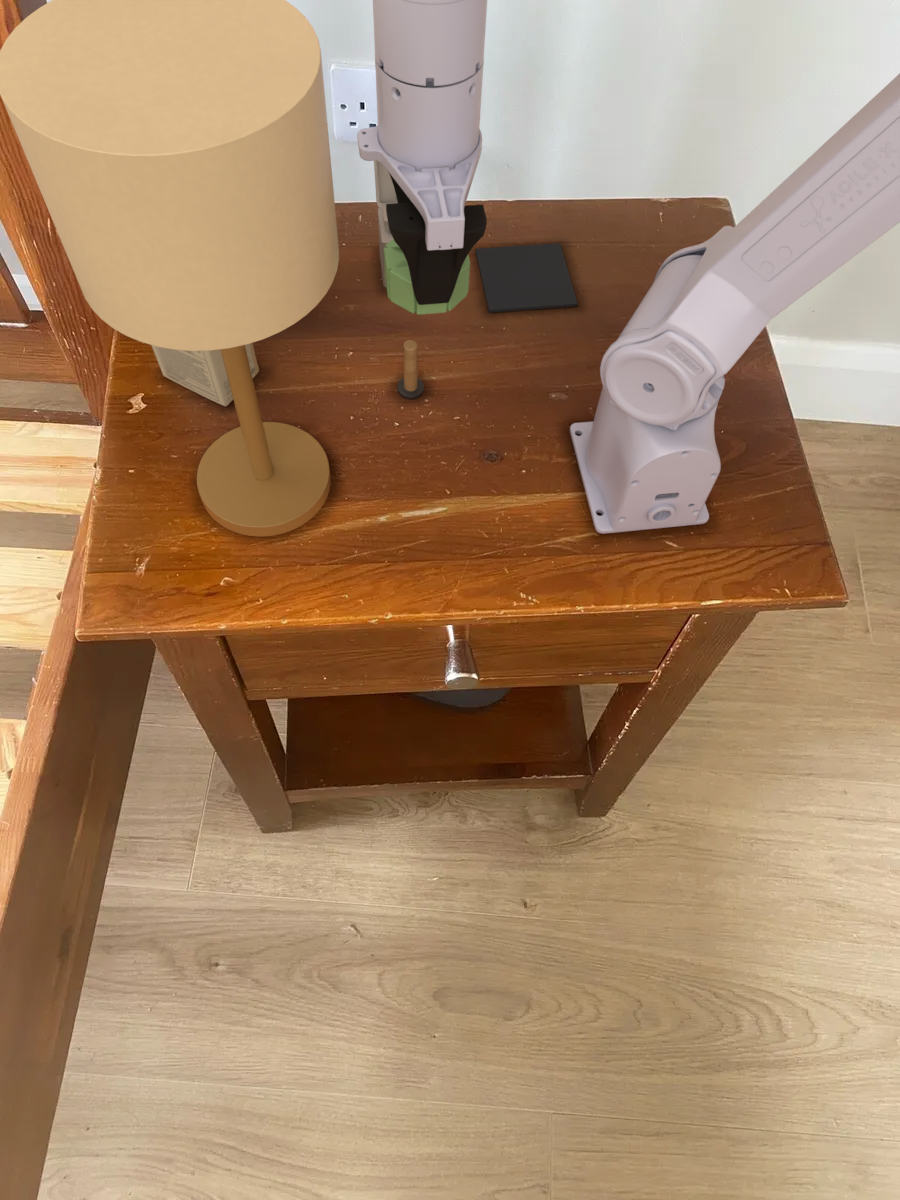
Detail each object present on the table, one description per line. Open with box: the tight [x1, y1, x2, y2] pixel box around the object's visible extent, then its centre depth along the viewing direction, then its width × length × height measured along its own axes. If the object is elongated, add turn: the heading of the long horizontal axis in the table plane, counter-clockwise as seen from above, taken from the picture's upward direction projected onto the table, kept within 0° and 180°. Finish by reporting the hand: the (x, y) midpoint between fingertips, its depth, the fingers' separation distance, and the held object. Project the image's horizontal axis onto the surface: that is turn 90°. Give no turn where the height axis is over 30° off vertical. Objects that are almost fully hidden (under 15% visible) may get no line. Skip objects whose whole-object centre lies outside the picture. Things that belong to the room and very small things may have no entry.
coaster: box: [474, 242, 578, 314], centre depth 72 cm, size 7×7×1 cm
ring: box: [384, 239, 471, 316], centre depth 58 cm, size 5×5×2 cm
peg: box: [396, 339, 425, 400], centre depth 64 cm, size 2×2×4 cm
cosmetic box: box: [151, 342, 260, 407], centre depth 61 cm, size 6×4×12 cm
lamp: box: [0, 0, 340, 538], centre depth 49 cm, size 13×13×29 cm
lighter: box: [373, 161, 398, 288], centre depth 70 cm, size 7×2×8 cm, turn 7°
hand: (427, 268), depth 58 cm, fingers closed on ring, 5 cm apart
